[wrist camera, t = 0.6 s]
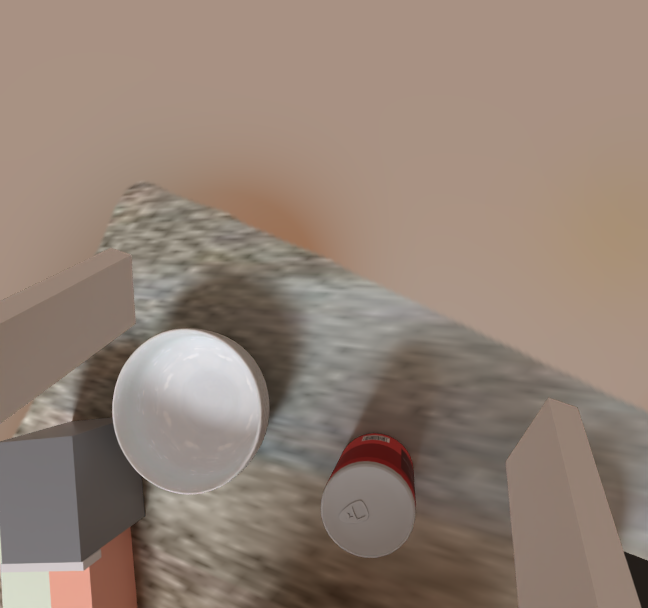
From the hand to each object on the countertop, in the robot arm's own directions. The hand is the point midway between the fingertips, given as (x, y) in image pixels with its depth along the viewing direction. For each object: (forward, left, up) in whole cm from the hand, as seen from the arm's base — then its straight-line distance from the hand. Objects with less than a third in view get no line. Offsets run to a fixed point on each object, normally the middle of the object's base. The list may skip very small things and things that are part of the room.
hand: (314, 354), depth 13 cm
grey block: (-12, +35, -33) cm, 50 cm away
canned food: (-14, +2, -34) cm, 37 cm away
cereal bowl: (-5, +20, -34) cm, 40 cm away
